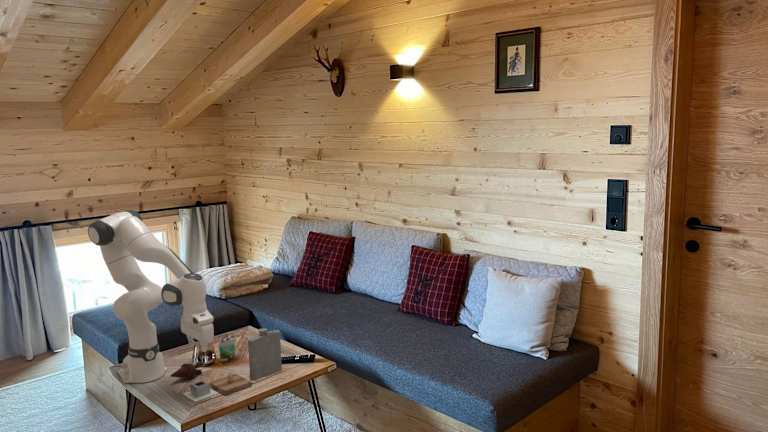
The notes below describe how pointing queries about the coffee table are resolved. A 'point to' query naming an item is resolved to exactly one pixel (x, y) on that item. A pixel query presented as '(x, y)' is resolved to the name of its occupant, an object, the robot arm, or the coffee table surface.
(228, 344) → the food container
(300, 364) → the coffee table surface
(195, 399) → the pad
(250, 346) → the hip flask
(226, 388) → the peg stand
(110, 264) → the robot arm
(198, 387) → the collar
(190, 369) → the icecream
